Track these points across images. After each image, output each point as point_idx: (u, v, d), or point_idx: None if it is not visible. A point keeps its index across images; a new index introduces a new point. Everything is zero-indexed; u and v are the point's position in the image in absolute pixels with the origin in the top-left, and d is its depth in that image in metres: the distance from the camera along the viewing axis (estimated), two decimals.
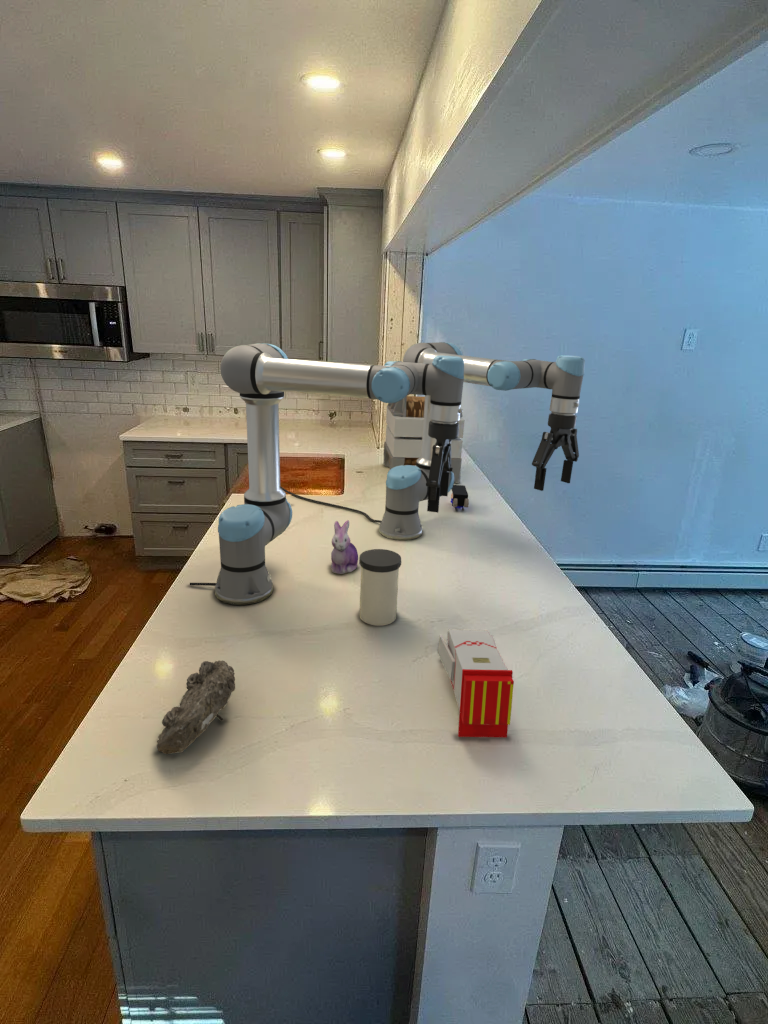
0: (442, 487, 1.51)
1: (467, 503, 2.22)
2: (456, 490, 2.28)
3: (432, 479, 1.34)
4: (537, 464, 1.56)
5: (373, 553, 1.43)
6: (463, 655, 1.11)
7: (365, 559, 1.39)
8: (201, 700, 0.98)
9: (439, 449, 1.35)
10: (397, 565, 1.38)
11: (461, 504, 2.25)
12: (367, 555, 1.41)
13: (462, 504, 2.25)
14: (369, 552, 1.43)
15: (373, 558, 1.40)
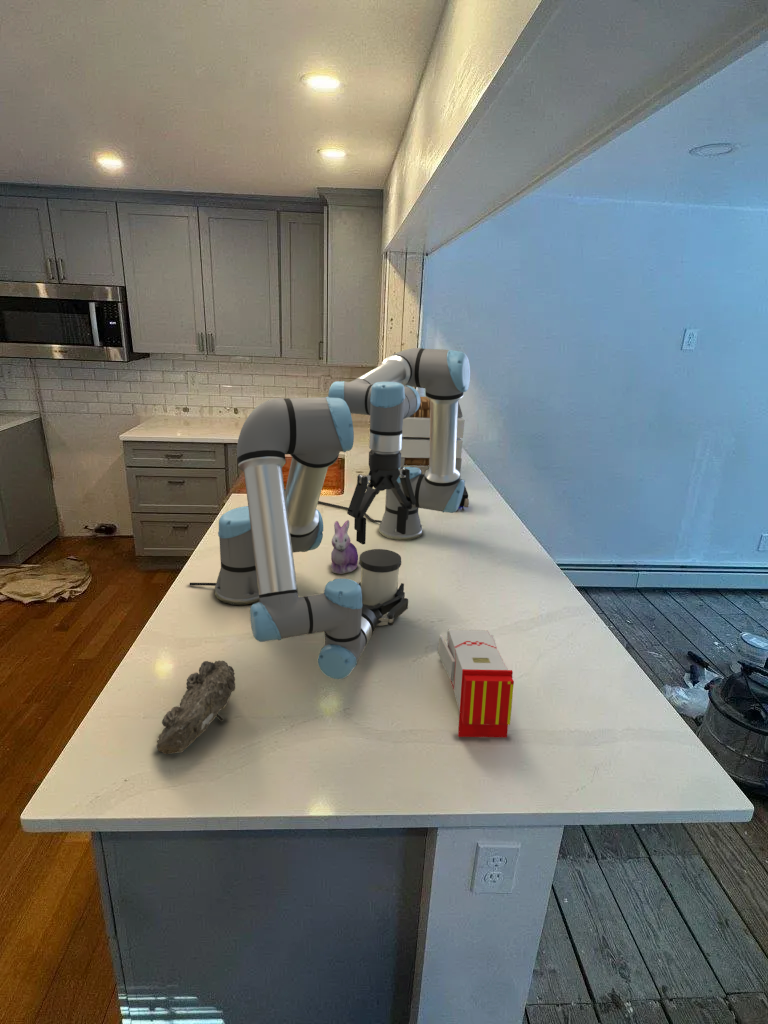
0: None
1: (467, 503, 2.22)
2: None
3: None
4: None
5: (373, 553, 1.43)
6: (463, 655, 1.11)
7: (365, 559, 1.39)
8: (201, 700, 0.98)
9: None
10: (397, 565, 1.38)
11: (461, 504, 2.25)
12: (367, 555, 1.41)
13: (462, 504, 2.25)
14: (369, 552, 1.43)
15: (373, 558, 1.40)
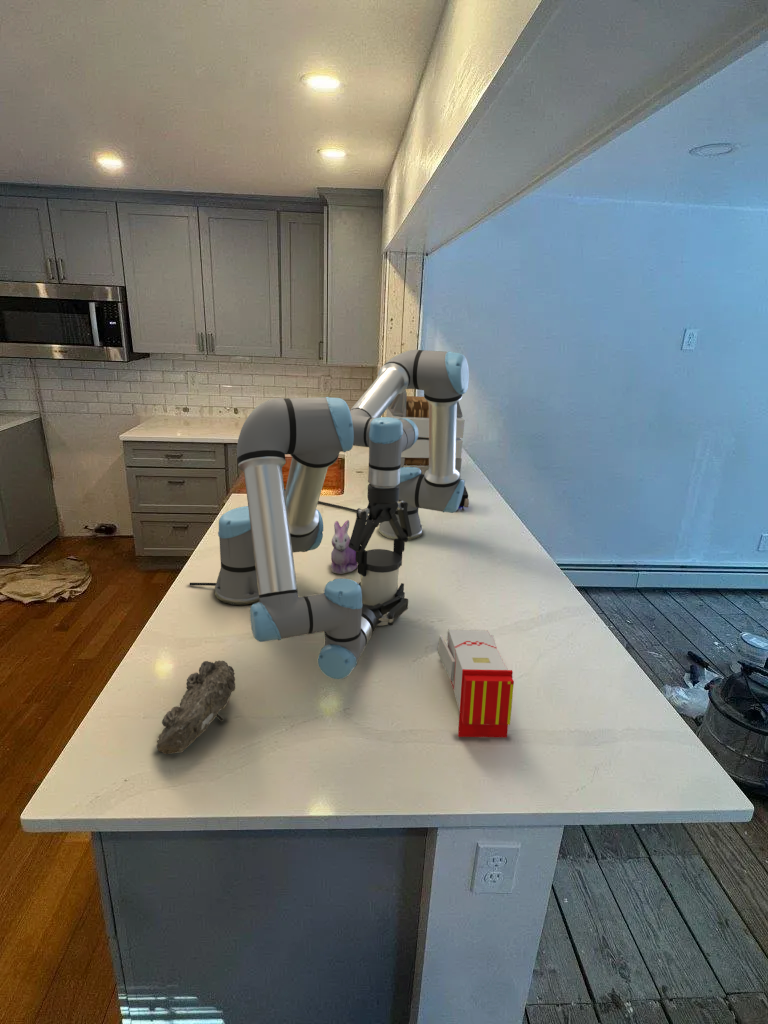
0: None
1: (467, 503, 2.22)
2: None
3: None
4: None
5: (373, 553, 1.43)
6: (463, 655, 1.11)
7: None
8: (201, 700, 0.98)
9: None
10: (397, 565, 1.38)
11: (461, 504, 2.25)
12: (367, 555, 1.41)
13: (462, 504, 2.25)
14: (369, 552, 1.43)
15: (373, 558, 1.40)
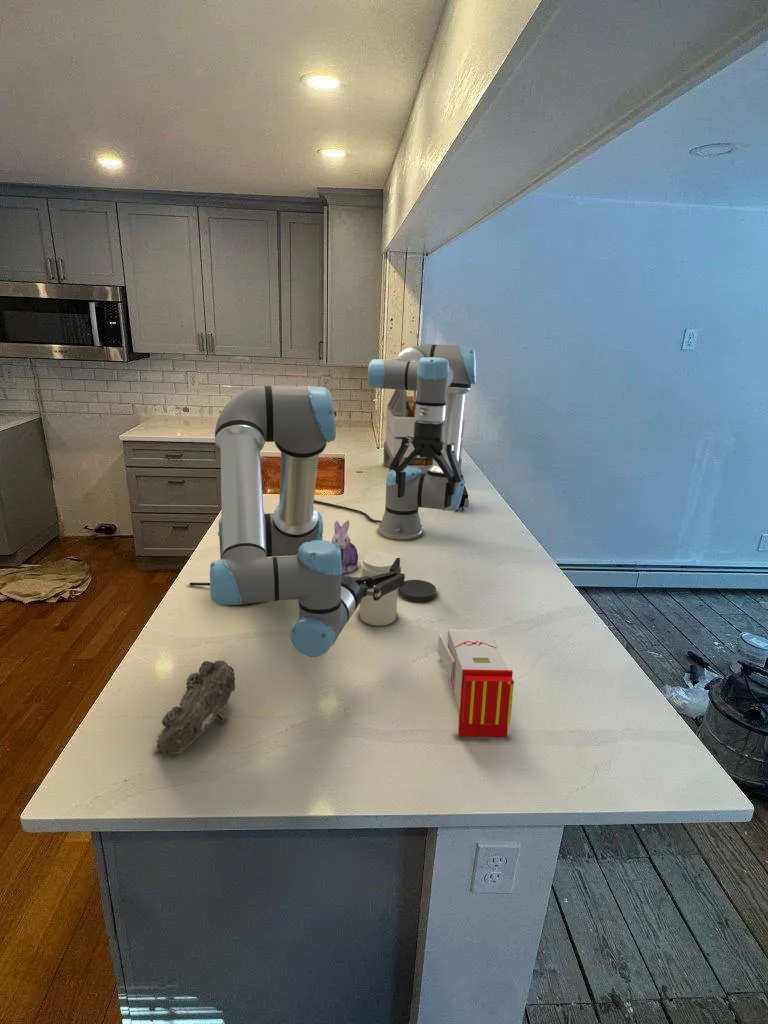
0: None
1: (467, 503, 2.22)
2: None
3: None
4: None
5: (427, 588, 1.58)
6: (463, 655, 1.11)
7: (421, 582, 1.62)
8: (201, 700, 0.98)
9: None
10: (399, 590, 1.57)
11: (461, 504, 2.25)
12: (427, 585, 1.60)
13: (462, 504, 2.25)
14: (431, 588, 1.58)
15: (419, 585, 1.60)
